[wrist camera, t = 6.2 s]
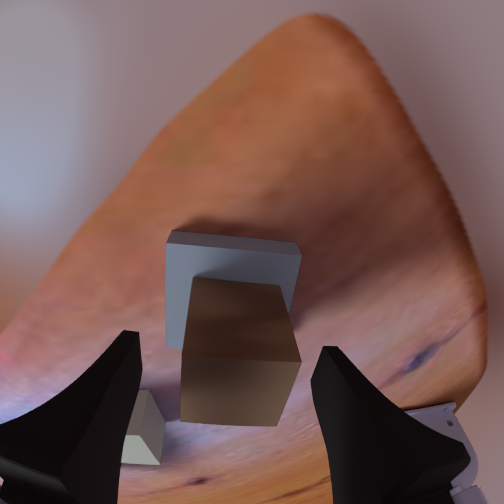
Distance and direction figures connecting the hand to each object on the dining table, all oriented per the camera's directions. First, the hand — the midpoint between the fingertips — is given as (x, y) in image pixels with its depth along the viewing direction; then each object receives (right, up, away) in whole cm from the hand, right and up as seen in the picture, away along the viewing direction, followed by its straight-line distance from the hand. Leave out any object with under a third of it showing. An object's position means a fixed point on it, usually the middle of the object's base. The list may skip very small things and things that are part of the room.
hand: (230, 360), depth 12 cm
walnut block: (0, +1, +3) cm, 4 cm away
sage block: (-8, -7, +8) cm, 14 cm away
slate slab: (0, +2, +5) cm, 6 cm away
